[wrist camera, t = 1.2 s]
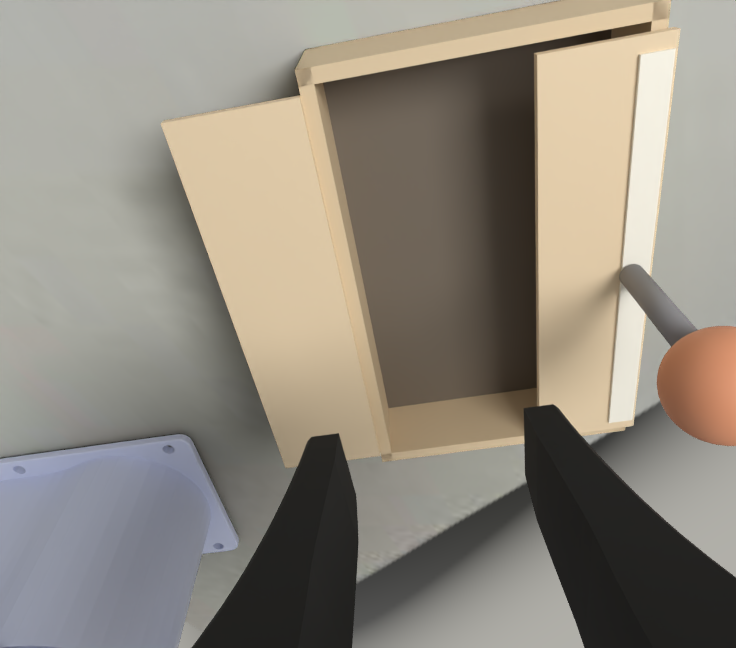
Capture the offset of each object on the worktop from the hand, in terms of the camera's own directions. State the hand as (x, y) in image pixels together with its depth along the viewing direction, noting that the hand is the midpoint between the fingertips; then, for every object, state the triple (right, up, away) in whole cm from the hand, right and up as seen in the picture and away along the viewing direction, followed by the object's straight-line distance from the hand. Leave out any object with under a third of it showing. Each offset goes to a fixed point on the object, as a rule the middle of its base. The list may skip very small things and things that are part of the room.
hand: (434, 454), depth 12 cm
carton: (+1, +6, +8) cm, 10 cm away
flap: (+6, +4, +5) cm, 9 cm away
